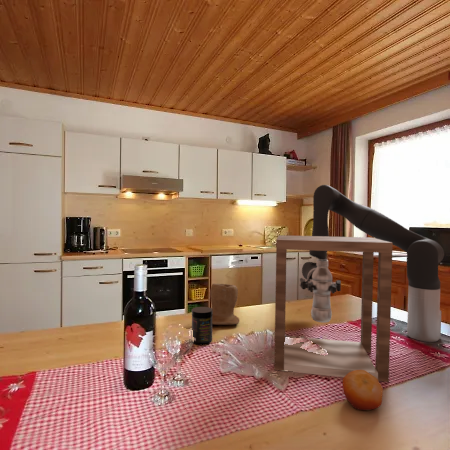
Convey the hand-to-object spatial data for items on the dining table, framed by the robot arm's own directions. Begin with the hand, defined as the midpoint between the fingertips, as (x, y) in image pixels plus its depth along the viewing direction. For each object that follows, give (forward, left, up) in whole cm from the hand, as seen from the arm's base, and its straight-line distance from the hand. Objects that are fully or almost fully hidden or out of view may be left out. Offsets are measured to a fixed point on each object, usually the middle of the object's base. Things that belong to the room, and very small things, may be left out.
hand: (322, 289), depth 102 cm
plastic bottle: (-1, -2, -11) cm, 11 cm away
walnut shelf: (+5, +9, -18) cm, 20 cm away
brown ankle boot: (+25, -30, -18) cm, 42 cm away
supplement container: (+36, -14, -18) cm, 42 cm away
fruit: (+12, +30, -18) cm, 37 cm away
